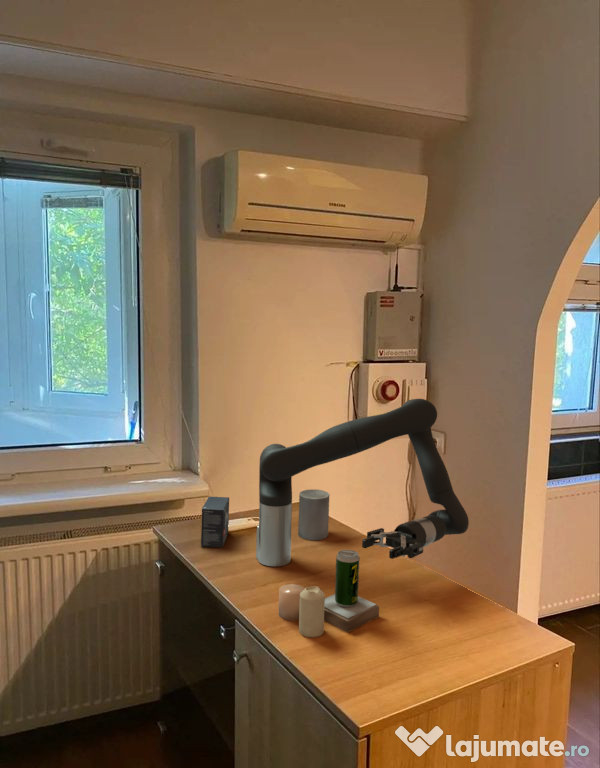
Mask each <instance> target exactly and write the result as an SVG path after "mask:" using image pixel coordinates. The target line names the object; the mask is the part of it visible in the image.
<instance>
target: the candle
mask: <svg viewBox="0 0 600 768" xmlns="http://www.w3.org/2000/svg"><path fill="white" fill-rule="evenodd" d="M325 598H326V595H325V592H323V591H322V590H321V589H320V587H319V586H315V585H311V586H306V587H304V590H303V591H302V592H301V593H300V610H299V620H298V631H299V632H298V633H299V634H300V635H301V636H304V637H306V638H318V637H320V636H322V635H323V634H324V631H325V621H324V607H325Z"/></svg>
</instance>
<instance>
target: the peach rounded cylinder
mask: <svg viewBox="0 0 600 768" xmlns="http://www.w3.org/2000/svg"><path fill="white" fill-rule="evenodd" d="M304 589H305V587H303V586H302V585H299V584H295V583H290V584H289V583H288V584H284V585H283V584H282V585H281V586H280V587H279V588H278V616H279V618H281V619H283V620H286V621H299V610H300V593H301V592H302V591H303V590H304Z"/></svg>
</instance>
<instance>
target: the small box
mask: <svg viewBox="0 0 600 768" xmlns="http://www.w3.org/2000/svg"><path fill="white" fill-rule="evenodd" d="M207 497H208V498H207V500H206V501H205V502H204V504H203V506H202V507H201V529H200V530H201V534H200V547H202V548H223V547H224V545H225V542H226V539H227V536H228V535H227V534H229V527H228V525H229V522H230V521H229V520H230V519H229V518H230V517H229V516H230V497H227V496H225V497H224V496H207Z"/></svg>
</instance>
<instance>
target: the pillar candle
mask: <svg viewBox="0 0 600 768" xmlns="http://www.w3.org/2000/svg"><path fill="white" fill-rule="evenodd" d="M330 495H331V494H330V493H329V492H328V491H325V490H322V489H316V488H315V489H312V488H311V489H305V490H301V491H300V492H299V496H298V498H299V499H298V525H297V526H298V528H297V531H298V532H297V535H298V537H299V538H301V539H303V540H306V539H308V541H321V540H324V539H326V538H328V536H329V523H330V522H329V521H330V518H329V517H330V516H329V515H330Z"/></svg>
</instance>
